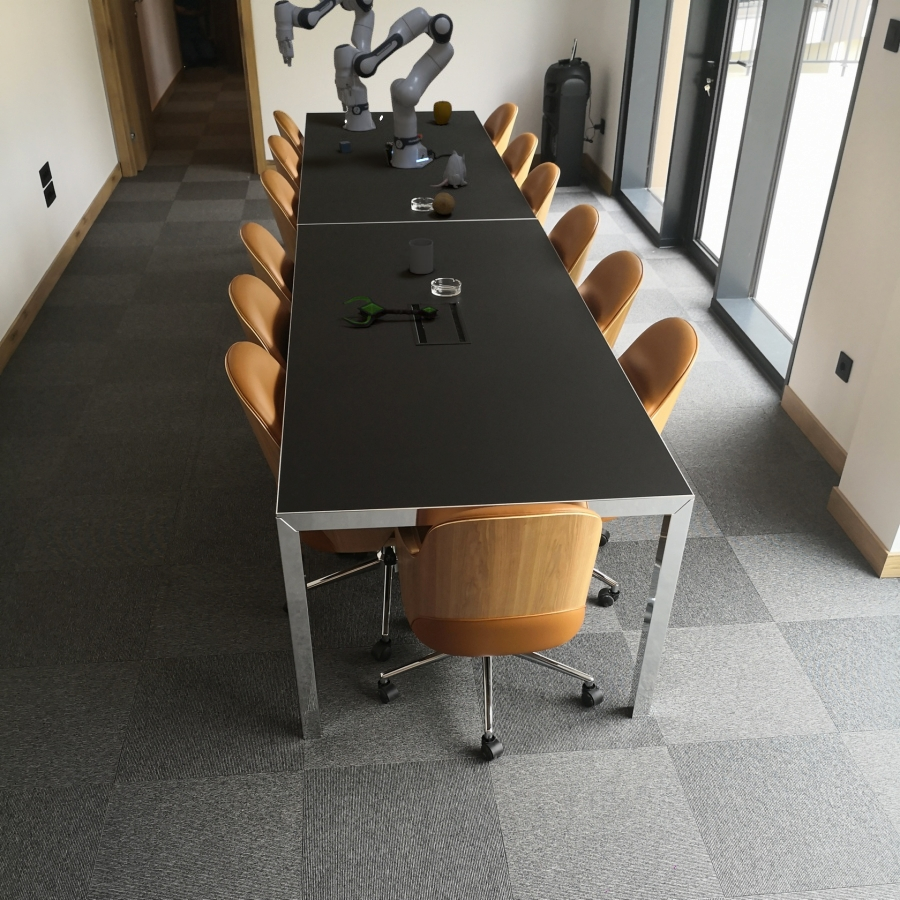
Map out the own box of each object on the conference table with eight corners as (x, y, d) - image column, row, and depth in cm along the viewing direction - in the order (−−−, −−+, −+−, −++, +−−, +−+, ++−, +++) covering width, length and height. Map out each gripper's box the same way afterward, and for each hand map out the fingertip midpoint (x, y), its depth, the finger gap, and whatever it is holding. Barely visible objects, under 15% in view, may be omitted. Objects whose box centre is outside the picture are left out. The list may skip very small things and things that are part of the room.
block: (341, 152, 448) (341, 143, 446) (339, 150, 452) (339, 141, 449) (350, 152, 450) (350, 142, 447) (348, 150, 453) (348, 141, 451)
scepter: (438, 291, 273) (342, 288, 271) (439, 321, 266) (340, 319, 264) (437, 304, 278) (343, 302, 276) (438, 334, 271) (341, 332, 269)
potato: (453, 208, 369) (453, 189, 365) (456, 218, 357) (456, 199, 353) (431, 208, 368) (430, 189, 364) (432, 218, 356) (432, 199, 352)
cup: (409, 265, 311) (408, 238, 306) (432, 265, 312) (431, 238, 307) (410, 274, 304) (409, 246, 299) (433, 273, 305) (433, 246, 299)
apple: (451, 126, 500) (451, 102, 493) (433, 126, 500) (432, 102, 493) (452, 121, 509) (452, 98, 502) (433, 121, 509) (433, 98, 502)
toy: (472, 184, 399) (472, 151, 391) (436, 195, 384) (436, 161, 376) (457, 180, 404) (458, 147, 396) (422, 191, 389) (421, 157, 381)
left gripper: (295, 38, 438) (298, 67, 446) (286, 33, 454) (289, 61, 462) (283, 38, 436) (285, 68, 444) (274, 33, 452) (277, 62, 460)
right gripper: (356, 85, 399) (359, 117, 406) (346, 78, 415) (348, 108, 422) (343, 86, 397) (345, 118, 404) (333, 79, 413) (336, 109, 421)
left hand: (287, 65), depth 453 cm, fingers open, 8 cm apart
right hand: (347, 113), depth 414 cm, fingers open, 8 cm apart
